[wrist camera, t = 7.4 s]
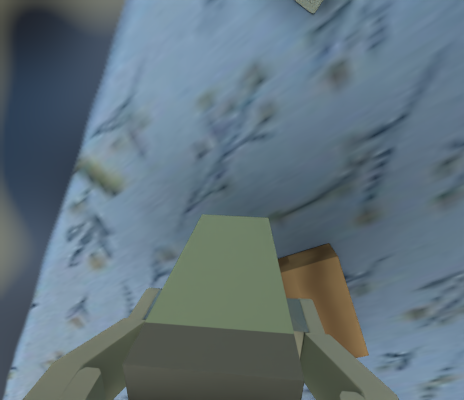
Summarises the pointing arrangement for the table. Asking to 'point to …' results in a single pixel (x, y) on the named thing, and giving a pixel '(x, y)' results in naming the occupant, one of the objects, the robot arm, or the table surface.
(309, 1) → the skincare box
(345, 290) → the walnut slot block
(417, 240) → the table surface
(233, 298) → the keyed peg
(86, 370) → the robot arm
